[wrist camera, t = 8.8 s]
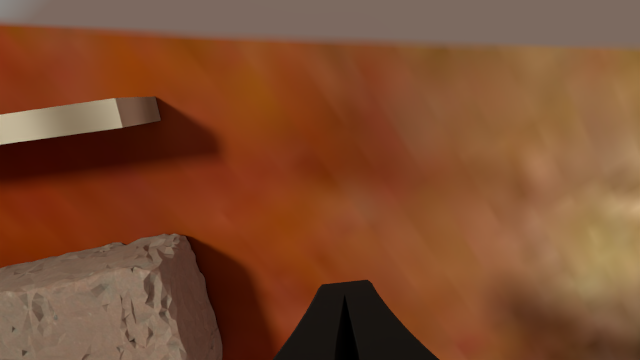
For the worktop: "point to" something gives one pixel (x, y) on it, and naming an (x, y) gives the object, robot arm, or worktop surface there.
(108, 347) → the brick
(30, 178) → the worktop surface
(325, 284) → the robot arm
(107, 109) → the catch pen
